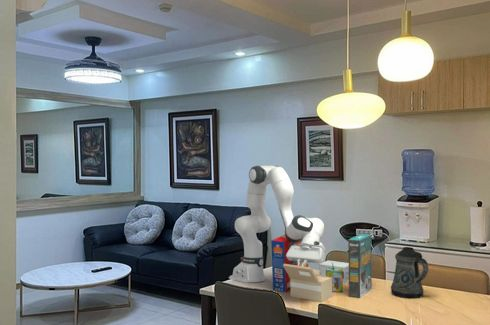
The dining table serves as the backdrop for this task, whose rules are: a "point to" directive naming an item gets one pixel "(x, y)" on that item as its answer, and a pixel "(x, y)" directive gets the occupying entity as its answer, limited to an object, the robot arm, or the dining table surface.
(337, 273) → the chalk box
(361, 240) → the cake mix box
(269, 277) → the dining table surface
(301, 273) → the flap
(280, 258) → the pasta box
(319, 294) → the carton
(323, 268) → the supplement box
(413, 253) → the beer stein
